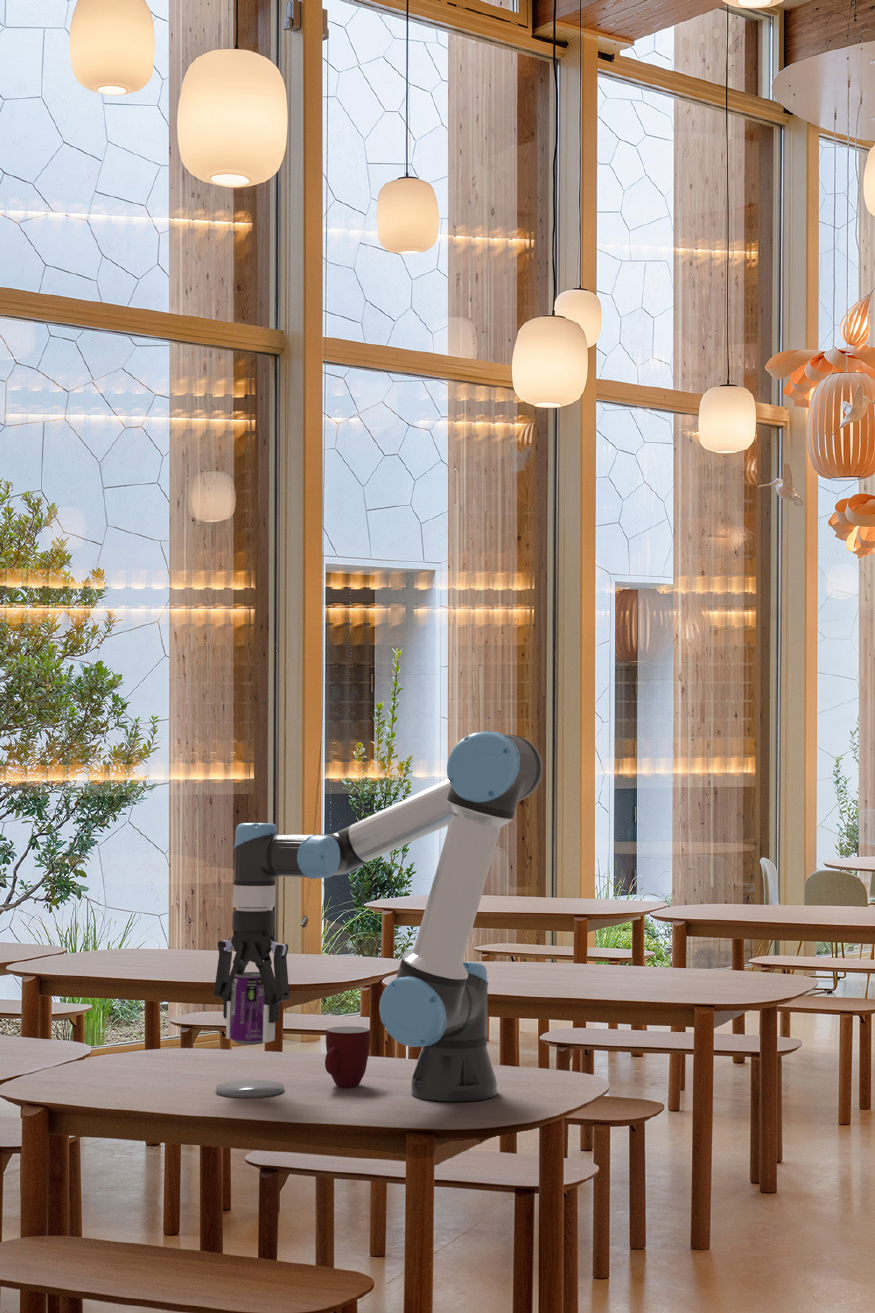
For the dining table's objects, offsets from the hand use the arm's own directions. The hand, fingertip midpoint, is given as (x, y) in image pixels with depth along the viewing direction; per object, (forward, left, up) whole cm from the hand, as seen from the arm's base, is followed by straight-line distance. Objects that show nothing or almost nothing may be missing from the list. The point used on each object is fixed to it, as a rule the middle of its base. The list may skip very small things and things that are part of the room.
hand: (250, 1039), depth 249 cm
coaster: (0, 0, -9) cm, 9 cm away
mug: (-13, -11, -9) cm, 19 cm away
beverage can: (0, 0, -1) cm, 1 cm away
